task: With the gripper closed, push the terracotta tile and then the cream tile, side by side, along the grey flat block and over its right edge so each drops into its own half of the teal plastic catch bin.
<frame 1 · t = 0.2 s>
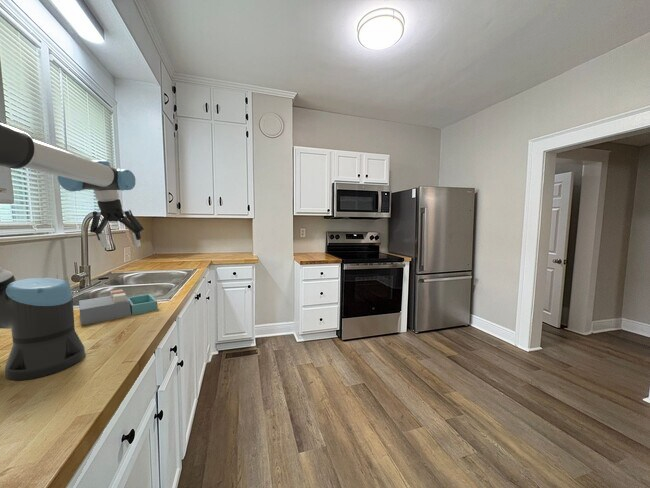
hand: (122, 246, 117), 27 cm above the counter, tool tilted 15°, fingers open, 13 cm apart
grey flat block: (105, 315, 109), on the counter
terracotta tile: (117, 296, 114), point 6 cm above the counter, touching grey flat block
catch bin: (142, 308, 117), on the counter
cream tile: (119, 300, 109), point 6 cm above the counter, touching grey flat block
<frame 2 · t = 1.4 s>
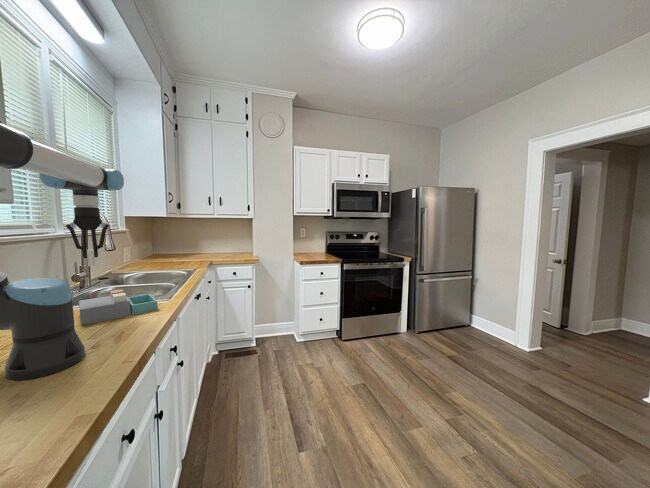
hand: (91, 265, 107), 20 cm above the counter, tool pointing down, fingers closed
nothing on the counter moved.
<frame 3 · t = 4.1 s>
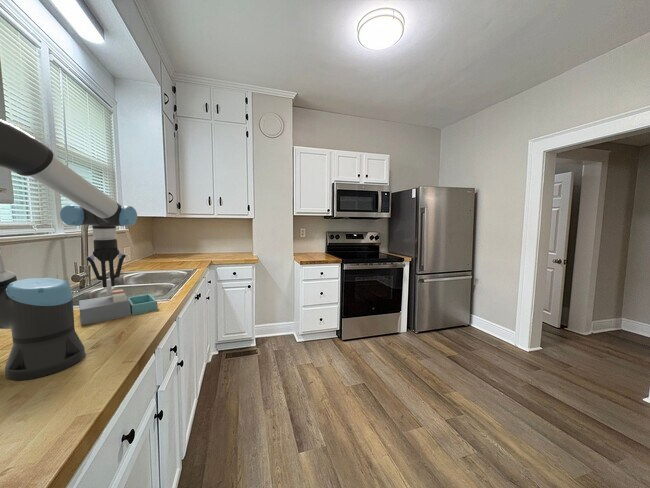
hand: (109, 294, 112), 8 cm above the counter, tool pointing down, fingers closed
terracotta tile: (117, 296, 114), point 6 cm above the counter, touching grey flat block, gripper
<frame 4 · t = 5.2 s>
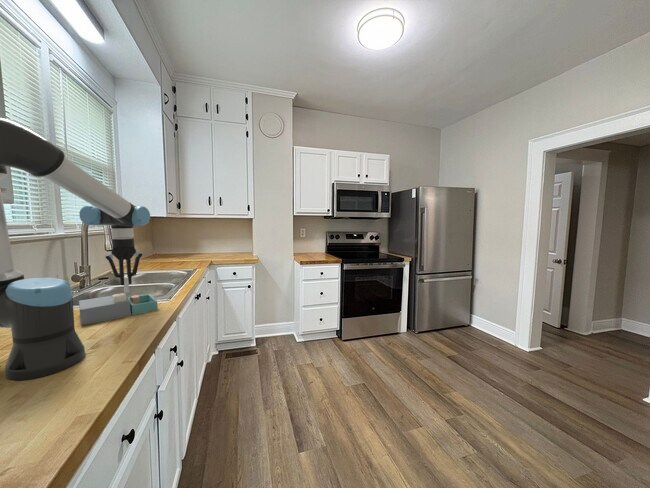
hand: (126, 291, 116), 7 cm above the counter, tool pointing down, fingers closed
terracotta tile: (132, 301, 117), point 3 cm above the counter, tilted 90°, touching catch bin
everything else where it was.
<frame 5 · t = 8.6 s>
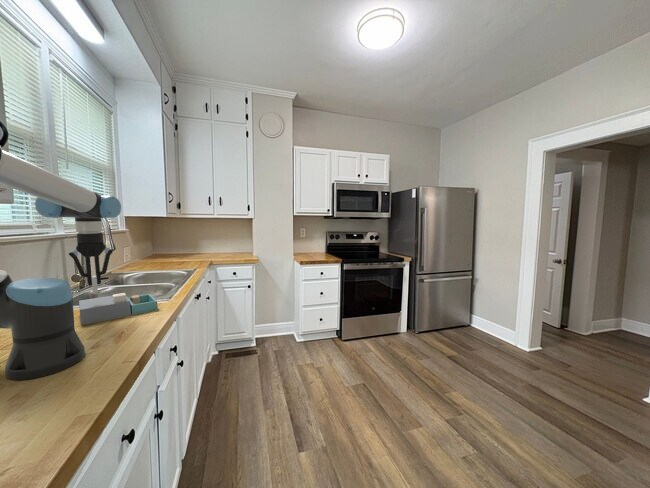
hand: (95, 292, 103), 11 cm above the counter, tool pointing down, fingers closed
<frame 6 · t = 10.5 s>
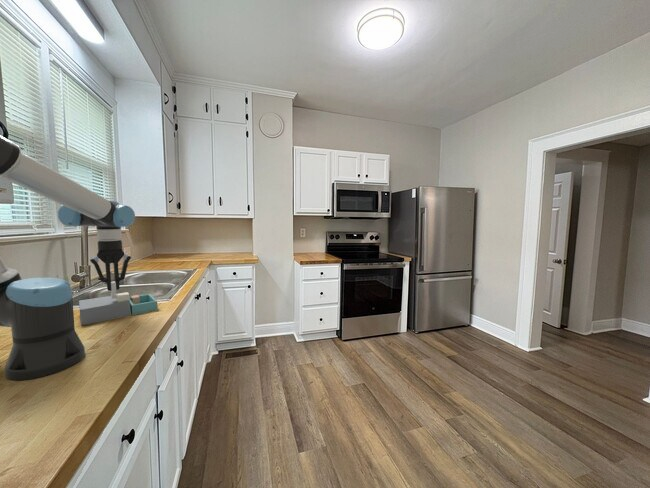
hand: (114, 297, 107), 8 cm above the counter, tool pointing down, fingers closed
cream tile: (122, 300, 109), point 6 cm above the counter, touching gripper
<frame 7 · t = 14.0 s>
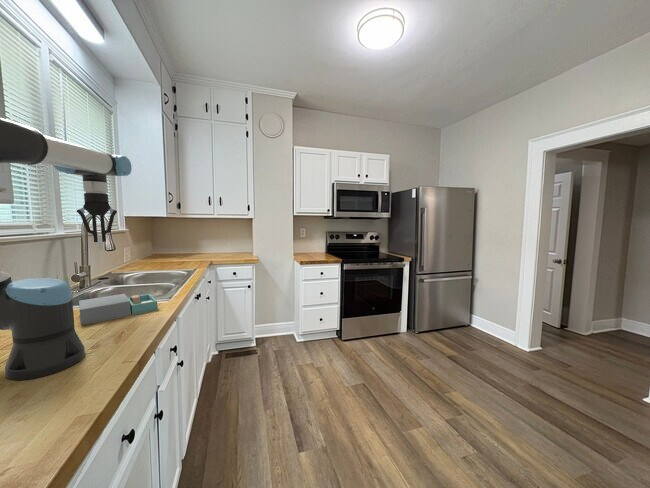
hand: (100, 249, 111), 26 cm above the counter, tool pointing down, fingers closed
cream tile: (147, 302, 115), point 3 cm above the counter, tilted 180°, touching catch bin
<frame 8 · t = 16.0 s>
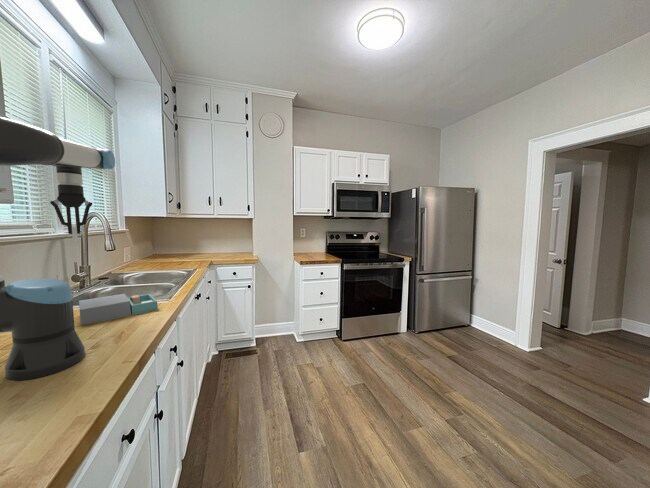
hand: (75, 241, 111), 29 cm above the counter, tool pointing down, fingers closed
at the end: terracotta tile inside the target area (4.6 cm from its centre), point 2.8 cm above the counter; cream tile inside the target area (3.8 cm from its centre), point 3.3 cm above the counter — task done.
